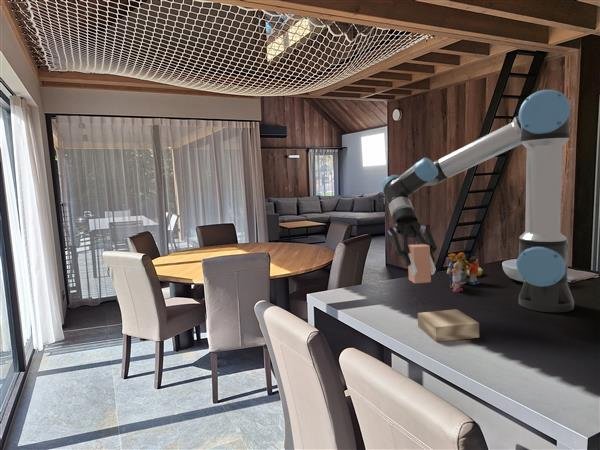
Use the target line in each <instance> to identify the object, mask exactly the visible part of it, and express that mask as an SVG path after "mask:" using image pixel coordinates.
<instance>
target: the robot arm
mask: <svg viewBox="0 0 600 450" xmlns="http://www.w3.org/2000/svg"><path fill="white" fill-rule="evenodd" d="M571 117H572V108H571V102H570V100H569V98H568V97H567V96H566V95H565V94H564V93H563V92H560V91H558V90H555V89H541V90H538V91H536V92H534V93H532V94H529V96H528V97H526V98H525V99H524V101H523V102H522V104H521V105H520V108H519V111H518V115H516V116H515V117H513V119H512V121H511V122H510V123H508V124H506V125H504V126H501V127H500V128H498V129H496V130H494V131H492V132H490V133H487V134H486V135H483V136H482V137H479V138H478V139H476V140H474V141H472V142H470V143H468V144H467V145H464V146H462V147H461V148H459V149H456V150H454V151H452V152H450V153H448V154H446V155H444V156H442V157H441V158H439V159H437V160H434V161H433V160H432V159H430V158H428V157H423V158H422V159H420V160H419V161H416V162H415V163H414V164H413V165H412V166H411V167H410V168H408V169H407V170H406V171H404V172H403V173H401V174H400V175H397V174H391V175H389V176H387V177H385V178H384V179H383V181H382V182H381V187H382V193H383V195H384V197H385V202H386V203H387V207H388V209H389V214H390V216H391V219H392V222H393V225H394V227H392V226H391V227H389V228H388V230H387V235H388V236H389V237H390V239H391V242H392V246H393V249H394V253H395V255H396V257H397V258H399V257H401V259H402V260H403V261H404V263H405V265H406V267H408V266H409V267H410V270H411V273H412V276H415V275H416V273H417V269H416V266H415V263H414V261H413V258H412V255H411V253H409V254H408V245H409V241H408V239H409V238H413V240H414V241H416V243H417V244H426V245H428V246H430V270H431V276H433V275H434V274H435V272H436V270H437V269H436V266H435V262H436V259H435V257H434V255H435V253H436V251H437V249H438V247H437V245H436V242H435V239H434V238H433V236H432V233H431V230H430V225H429V224H426V225H422V224H421V223H420V222H419V219H418V218H417V214H416V212H415V209H414V206H413V204H412V201H411V199H410V196H411V195H413V194H414V193H416V192H417V191H419V190H420V189H421V188H423V187H428V186H429V187H430V186H431V187H432V186H433V187H434V186H437V185H439V184H441V183H442V182H443V181H446V180H447V179H449V178H451V177H454V176H456V175H458V174H460V173H462V172H464V171H467V170H469V169H471V168H472V167H475V166H477V165H481V163H484V162H485V161H488V160H490V159H492V158H495V157H497V156H499V155H501V154H503V153H505V152H507V151H509V150H512V149H514V148H516V147H519V146H521V145H522V146H523V147H525V149H526V159H525V160H526V169H525V219H524V220H525V221H524V223H525V225H524V226H525V228H524V230H525V231H524V232H522V234H521V235H520V236H519V238H518V240H519V241H518V244H519V245H518V247H519V248H518V257H517V258H516V259H517V262H516V265H517V270H518V273H519V274H520V276H521V277H522V278H523V279H524V280H525V281H524V282H523V285H522V288H521V290H520V292H519V295H518V304H519V305H520V306H521V307H522V308H525V309H528V310H531V311H537V312H543V313H567V312H570V311H572V310H574V308H575V300H574V297H573V294H572V292H571V289H570V287H569V284H568V263H569V262H568V260H569V259H568V258H569V257H568V255H569V254H568V253H569V252H568V249H569V241H568V237H567V236H566V235H564V234H562V233H561V232H562V231H561V219H562V218H561V215H562V214H561V209H562V175H563V174H562V171H563V169H562V168H563V146H564V145H565V144H566V143H567V142H568V141H569V140H570V129H571V128H570V127H571V126H570V125H571V124H570V123H571ZM421 232H422V233H421ZM397 233H398V234H399V235H400V236H401V244H400V240H399V237H398V235H397ZM422 234H423V235H422Z"/></svg>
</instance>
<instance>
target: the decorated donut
mask: <svg viewBox="0 0 600 450" xmlns="http://www.w3.org/2000/svg"><path fill="white" fill-rule="evenodd" d="M483 271H484V269H482V267H479V268H478V272H477V274H476V278H477V277H480V276H482V274H483ZM468 277H469V278H470V274H469V270H467V272H466V278H468Z"/></svg>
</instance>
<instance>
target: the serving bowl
mask: <svg viewBox="0 0 600 450" xmlns="http://www.w3.org/2000/svg"><path fill="white" fill-rule="evenodd" d="M516 262H517V258H514V259H508V260H504V261H502V263H501V264H502V270H503V272H504V274H506V276H507V277H509V278H510V279H513V280H514V281H518V282H520V283H524V281H525V280H524V279H523V278H522V277H521V276H520V274H519V273H518V270H517V265H516Z"/></svg>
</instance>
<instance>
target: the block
mask: <svg viewBox="0 0 600 450" xmlns="http://www.w3.org/2000/svg"><path fill="white" fill-rule="evenodd" d="M409 253H411V255H412V258H413V261H414V263H415V266H416V269H417V273H416V275H415V276H412V273H411V270H410V267H409V266H407V267H408V269H407V270H408V271H407V272H408V280H409V281H410V282H411V283H413V284H425V283H432V277H431V276H432V275H431V270H430V246H428V245H426V244H418V243H414V244H413V243H412V244H408V254H409Z"/></svg>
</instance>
